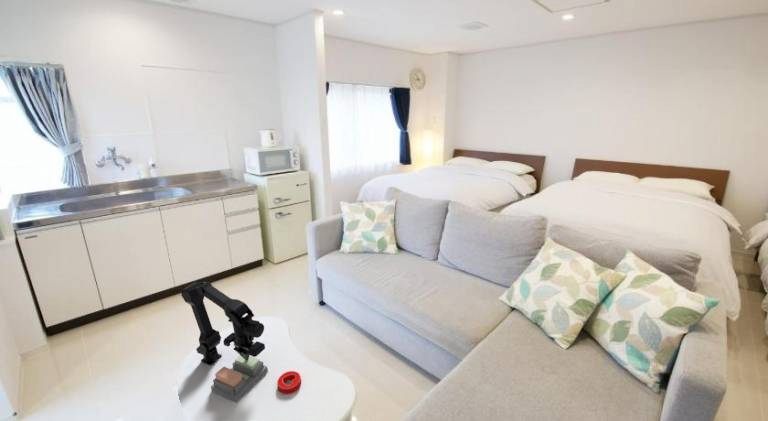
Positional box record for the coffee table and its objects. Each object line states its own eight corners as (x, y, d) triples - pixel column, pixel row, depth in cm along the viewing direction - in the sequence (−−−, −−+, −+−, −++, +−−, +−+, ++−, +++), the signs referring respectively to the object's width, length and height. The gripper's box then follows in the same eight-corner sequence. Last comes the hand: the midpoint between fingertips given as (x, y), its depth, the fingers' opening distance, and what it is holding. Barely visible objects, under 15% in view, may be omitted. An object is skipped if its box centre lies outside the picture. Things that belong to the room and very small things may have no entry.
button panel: (211, 391, 141) (209, 381, 139) (244, 361, 156) (242, 352, 154) (236, 402, 135) (233, 392, 133) (267, 371, 151) (266, 361, 149)
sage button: (236, 366, 149) (234, 359, 148) (243, 360, 153) (242, 353, 151) (253, 373, 145) (251, 366, 144) (260, 366, 149) (259, 359, 147)
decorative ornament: (279, 378, 147) (278, 372, 146) (301, 374, 149) (301, 368, 148) (277, 396, 138) (276, 390, 137) (300, 392, 140) (300, 386, 139)
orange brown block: (216, 381, 140) (215, 373, 139) (225, 373, 144) (223, 366, 142) (234, 389, 136) (232, 381, 135) (242, 381, 140) (241, 373, 138)
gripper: (271, 324, 146) (276, 353, 151) (240, 314, 153) (245, 342, 158) (252, 341, 136) (257, 371, 141) (219, 329, 143) (226, 358, 149)
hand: (246, 359), depth 148 cm, fingers closed, pressing on sage button
